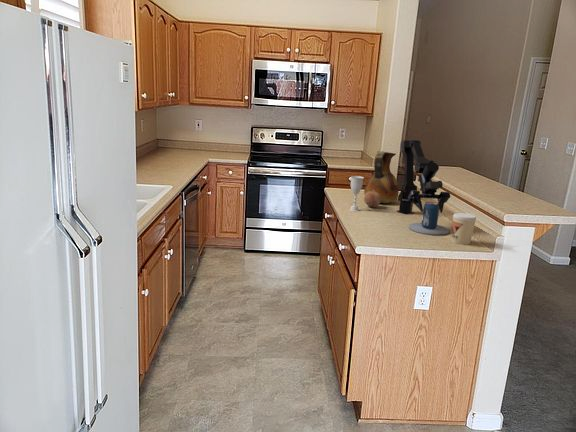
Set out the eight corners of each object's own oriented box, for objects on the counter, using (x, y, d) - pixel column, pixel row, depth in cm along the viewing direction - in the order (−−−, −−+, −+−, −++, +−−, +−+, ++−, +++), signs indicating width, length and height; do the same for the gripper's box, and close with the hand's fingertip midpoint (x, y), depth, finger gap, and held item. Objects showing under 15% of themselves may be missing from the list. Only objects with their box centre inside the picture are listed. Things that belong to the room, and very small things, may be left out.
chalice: (362, 209, 252) (365, 176, 247) (359, 212, 245) (362, 178, 241) (348, 207, 254) (351, 175, 250) (346, 210, 248) (349, 177, 243)
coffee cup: (445, 238, 205) (449, 212, 202) (466, 239, 205) (470, 212, 203) (455, 245, 196) (459, 217, 193) (476, 245, 196) (480, 218, 194)
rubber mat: (427, 223, 229) (428, 221, 229) (457, 233, 214) (457, 231, 214) (400, 226, 220) (401, 224, 220) (429, 237, 205) (429, 235, 205)
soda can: (436, 226, 219) (439, 202, 217) (436, 230, 213) (440, 205, 210) (421, 225, 221) (424, 200, 218) (421, 228, 215) (424, 203, 212)
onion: (362, 205, 263) (363, 187, 261) (378, 206, 263) (380, 188, 260) (364, 208, 254) (366, 191, 251) (381, 209, 254) (383, 191, 251)
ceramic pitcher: (401, 201, 278) (407, 151, 270) (390, 207, 261) (395, 154, 254) (371, 196, 287) (376, 148, 280) (358, 201, 271) (362, 150, 264)
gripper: (412, 173, 214) (418, 201, 206) (451, 175, 216) (458, 203, 208) (405, 187, 224) (410, 214, 216) (442, 188, 225) (448, 216, 217)
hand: (432, 211), depth 214 cm, fingers open, 9 cm apart
